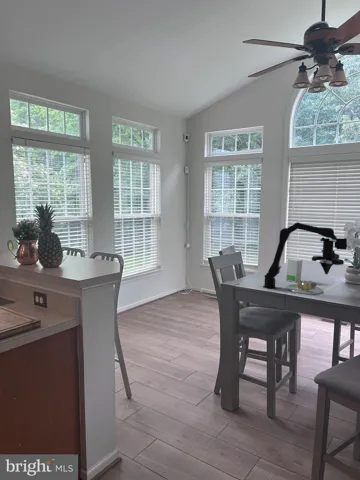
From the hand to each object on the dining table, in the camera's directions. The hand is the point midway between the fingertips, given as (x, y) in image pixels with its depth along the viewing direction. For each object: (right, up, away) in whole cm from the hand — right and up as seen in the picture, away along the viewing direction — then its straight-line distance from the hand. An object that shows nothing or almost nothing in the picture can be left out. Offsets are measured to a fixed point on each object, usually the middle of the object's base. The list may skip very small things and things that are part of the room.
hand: (326, 274), depth 214 cm
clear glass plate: (-10, -11, +10) cm, 18 cm away
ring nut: (-7, -10, +12) cm, 17 cm away
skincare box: (-8, -9, +36) cm, 38 cm away
